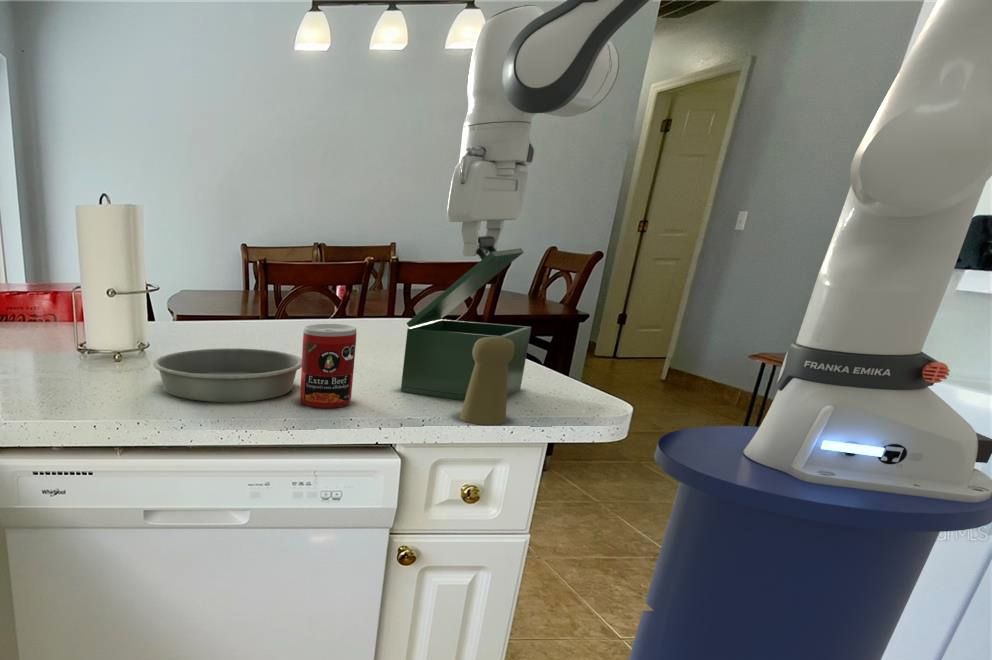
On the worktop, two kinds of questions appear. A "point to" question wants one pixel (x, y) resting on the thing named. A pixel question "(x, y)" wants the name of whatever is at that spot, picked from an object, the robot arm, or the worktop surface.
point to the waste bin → (456, 356)
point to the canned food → (327, 365)
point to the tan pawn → (488, 382)
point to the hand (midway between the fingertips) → (479, 254)
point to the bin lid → (468, 281)
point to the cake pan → (228, 374)
